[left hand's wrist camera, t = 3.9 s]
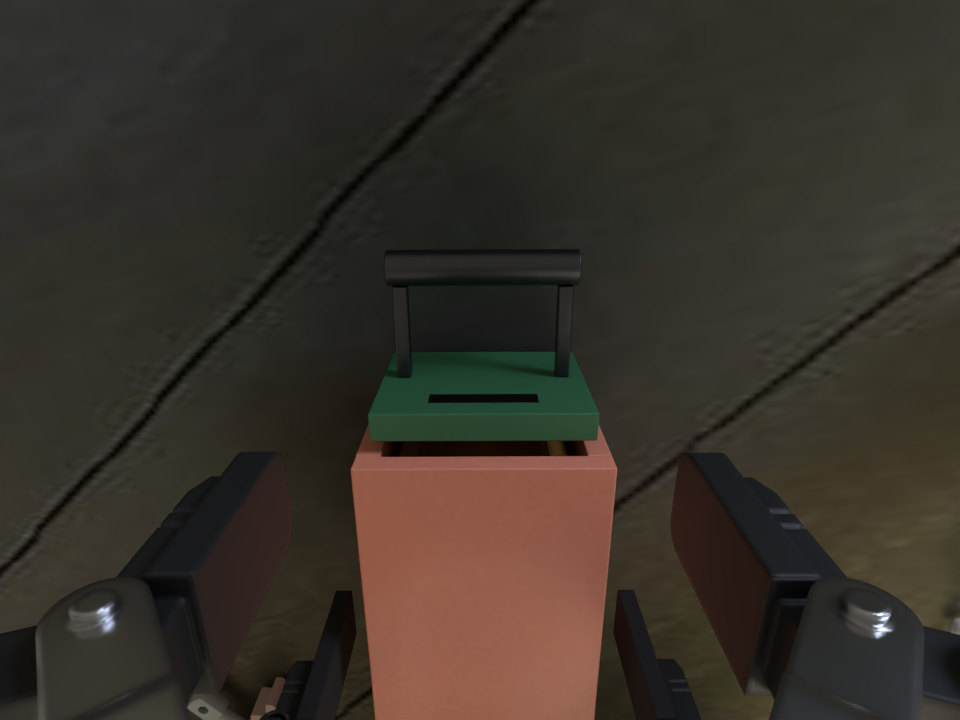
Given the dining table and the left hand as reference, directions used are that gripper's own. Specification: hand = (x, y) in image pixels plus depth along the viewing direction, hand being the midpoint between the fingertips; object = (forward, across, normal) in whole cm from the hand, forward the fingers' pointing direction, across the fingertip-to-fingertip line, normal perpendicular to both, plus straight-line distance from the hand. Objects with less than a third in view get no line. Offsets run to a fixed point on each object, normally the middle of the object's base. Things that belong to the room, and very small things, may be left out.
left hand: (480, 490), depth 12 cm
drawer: (+17, 0, +6) cm, 18 cm away
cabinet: (+18, 0, +12) cm, 21 cm away
